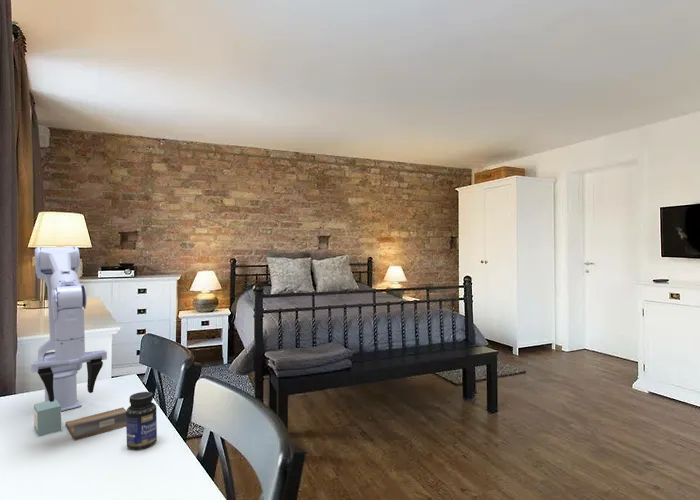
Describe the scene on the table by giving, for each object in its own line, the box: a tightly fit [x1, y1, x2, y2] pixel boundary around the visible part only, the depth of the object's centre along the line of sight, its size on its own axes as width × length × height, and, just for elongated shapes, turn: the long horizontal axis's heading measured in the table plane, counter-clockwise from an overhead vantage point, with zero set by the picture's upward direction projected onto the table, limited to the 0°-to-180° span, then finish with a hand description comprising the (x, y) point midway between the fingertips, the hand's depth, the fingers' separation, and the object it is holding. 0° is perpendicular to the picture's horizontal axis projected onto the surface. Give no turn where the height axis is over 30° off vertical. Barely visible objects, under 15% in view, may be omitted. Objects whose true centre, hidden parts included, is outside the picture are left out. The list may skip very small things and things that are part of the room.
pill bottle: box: [125, 391, 158, 451], centre depth 94 cm, size 6×6×11 cm
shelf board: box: [65, 407, 127, 441], centre depth 105 cm, size 11×13×3 cm
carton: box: [33, 399, 62, 437], centre depth 102 cm, size 5×6×6 cm
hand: (71, 395), depth 98 cm, fingers open, 7 cm apart
